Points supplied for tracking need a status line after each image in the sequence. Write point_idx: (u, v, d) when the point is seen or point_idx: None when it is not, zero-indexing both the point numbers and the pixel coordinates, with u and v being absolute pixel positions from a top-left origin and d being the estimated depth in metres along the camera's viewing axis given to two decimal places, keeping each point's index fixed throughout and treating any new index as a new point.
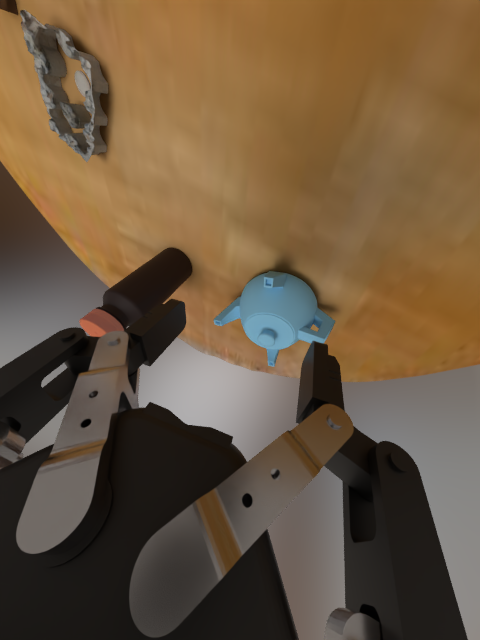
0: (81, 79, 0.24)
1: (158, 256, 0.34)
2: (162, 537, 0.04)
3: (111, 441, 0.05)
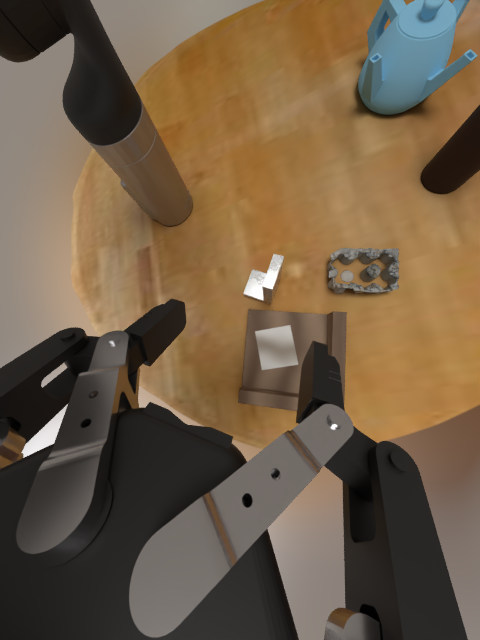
0: (344, 276, 0.35)
1: (445, 169, 0.32)
2: (162, 537, 0.04)
3: (111, 441, 0.05)
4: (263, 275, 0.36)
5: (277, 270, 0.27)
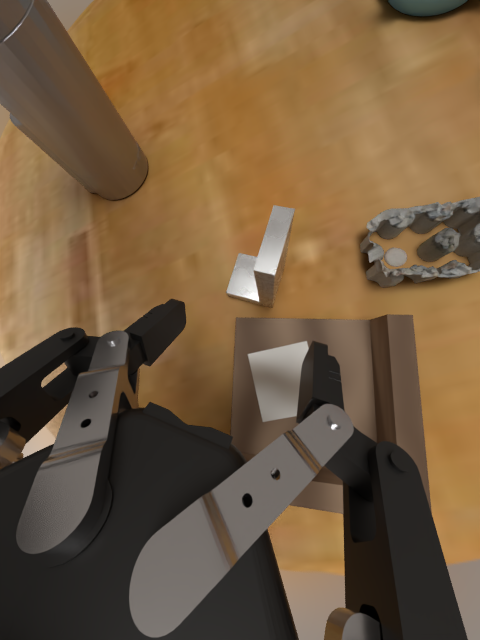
0: (392, 258, 0.21)
1: None
2: (162, 537, 0.04)
3: (111, 441, 0.05)
4: None
5: (283, 236, 0.13)
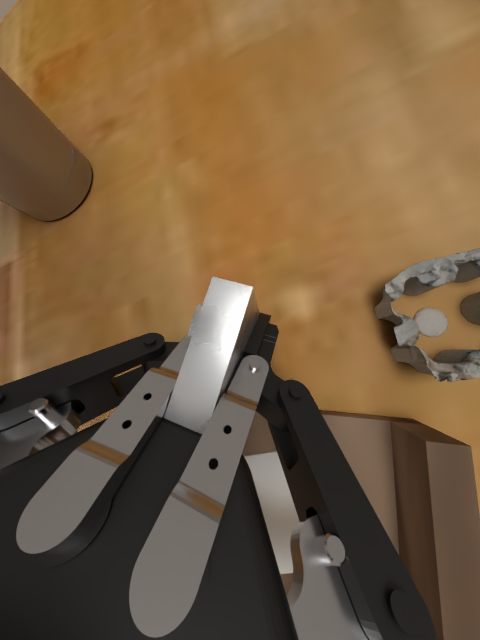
0: (426, 324, 0.14)
1: None
2: (162, 537, 0.04)
3: (134, 456, 0.05)
4: None
5: (227, 347, 0.06)
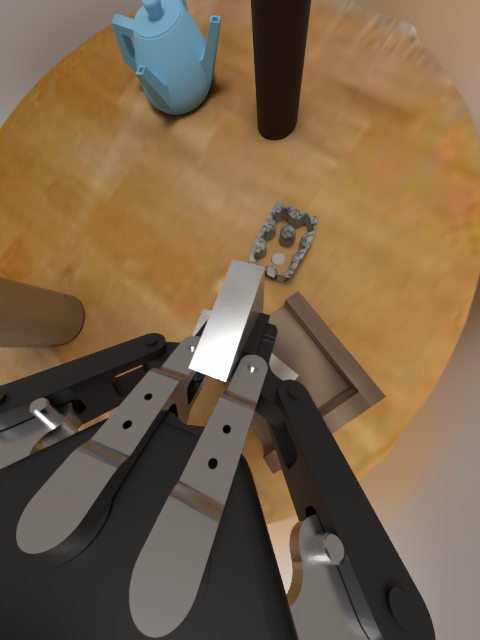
0: (277, 261, 0.31)
1: (273, 113, 0.30)
2: (162, 537, 0.04)
3: (135, 457, 0.05)
4: None
5: (244, 311, 0.08)
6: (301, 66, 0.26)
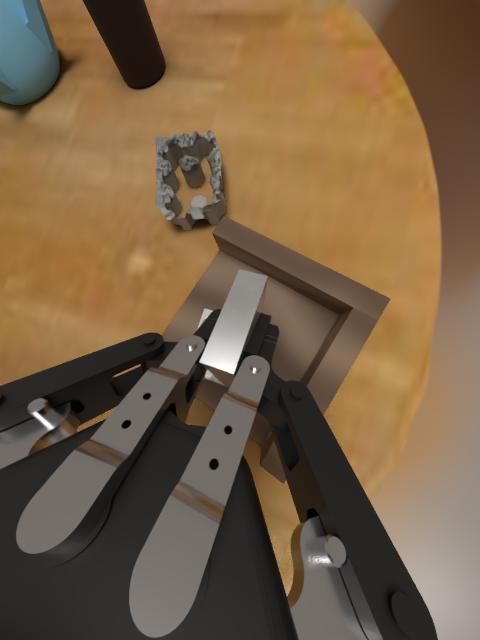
0: (199, 205, 0.24)
1: (127, 46, 0.25)
2: (162, 537, 0.04)
3: (134, 456, 0.05)
4: None
5: (250, 312, 0.09)
6: None
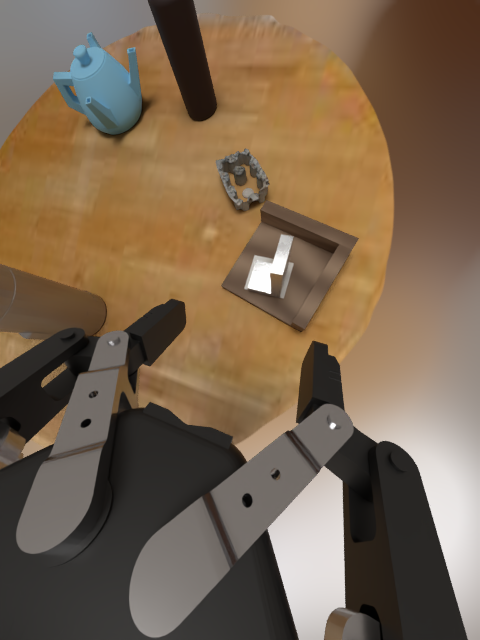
0: (249, 194, 0.38)
1: (197, 97, 0.39)
2: (162, 537, 0.04)
3: (111, 440, 0.05)
4: (269, 265, 0.32)
5: (287, 252, 0.23)
6: (205, 56, 0.36)
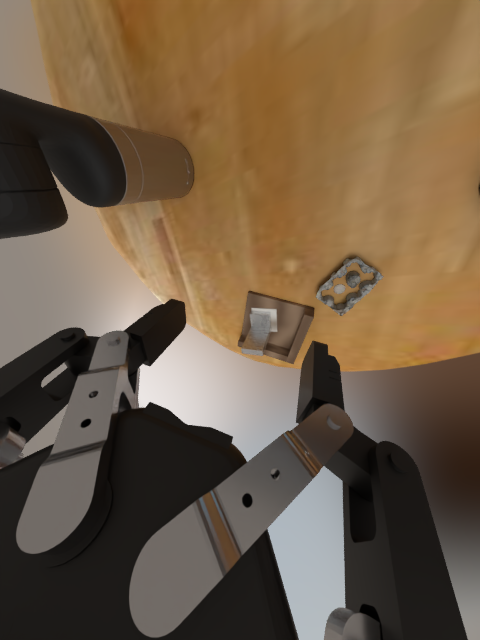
0: (338, 290, 0.41)
1: None
2: (162, 537, 0.04)
3: (111, 440, 0.05)
4: (267, 323, 0.49)
5: (253, 353, 0.44)
6: None
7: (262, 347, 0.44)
